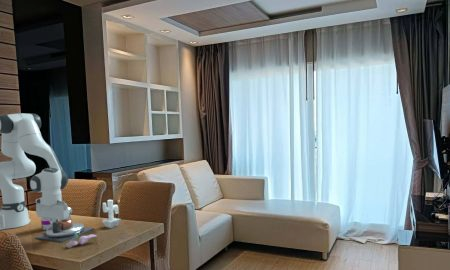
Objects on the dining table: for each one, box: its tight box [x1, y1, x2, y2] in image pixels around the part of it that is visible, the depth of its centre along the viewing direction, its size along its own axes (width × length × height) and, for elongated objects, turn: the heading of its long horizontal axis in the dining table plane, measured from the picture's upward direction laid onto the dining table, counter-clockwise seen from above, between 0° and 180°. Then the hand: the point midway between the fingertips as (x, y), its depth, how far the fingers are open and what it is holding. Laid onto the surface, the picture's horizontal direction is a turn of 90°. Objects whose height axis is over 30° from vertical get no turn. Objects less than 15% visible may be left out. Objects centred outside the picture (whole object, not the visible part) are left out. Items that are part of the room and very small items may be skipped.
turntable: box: [45, 222, 85, 237], centre depth 176 cm, size 18×18×7 cm
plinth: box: [35, 226, 95, 243], centre depth 177 cm, size 20×20×1 cm
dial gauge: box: [68, 206, 73, 219], centre depth 187 cm, size 5×6×11 cm
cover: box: [58, 218, 73, 230], centre depth 176 cm, size 7×7×5 cm
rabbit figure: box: [62, 234, 97, 249], centre depth 158 cm, size 6×6×15 cm
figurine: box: [101, 199, 121, 229], centre depth 186 cm, size 7×9×15 cm
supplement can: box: [40, 217, 59, 231], centre depth 189 cm, size 8×8×15 cm
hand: (53, 226), depth 170 cm, fingers closed, pressing on turntable
